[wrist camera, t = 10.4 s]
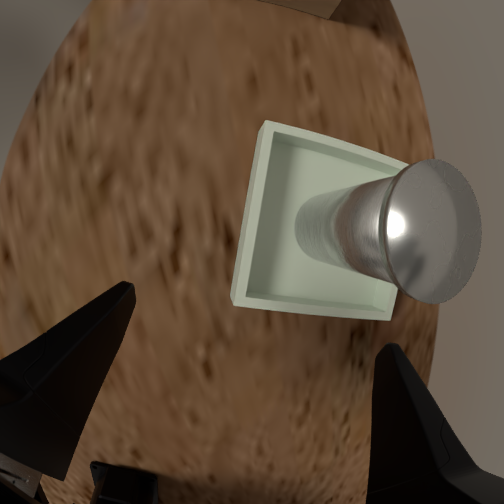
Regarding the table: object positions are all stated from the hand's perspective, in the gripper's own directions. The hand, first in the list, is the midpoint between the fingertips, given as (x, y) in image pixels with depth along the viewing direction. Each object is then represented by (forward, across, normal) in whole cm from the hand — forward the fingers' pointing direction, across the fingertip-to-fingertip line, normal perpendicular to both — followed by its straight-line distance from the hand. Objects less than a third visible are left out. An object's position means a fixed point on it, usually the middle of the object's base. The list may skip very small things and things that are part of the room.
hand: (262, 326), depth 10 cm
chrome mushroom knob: (+11, -4, +2) cm, 12 cm away
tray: (+12, -4, +2) cm, 12 cm away
